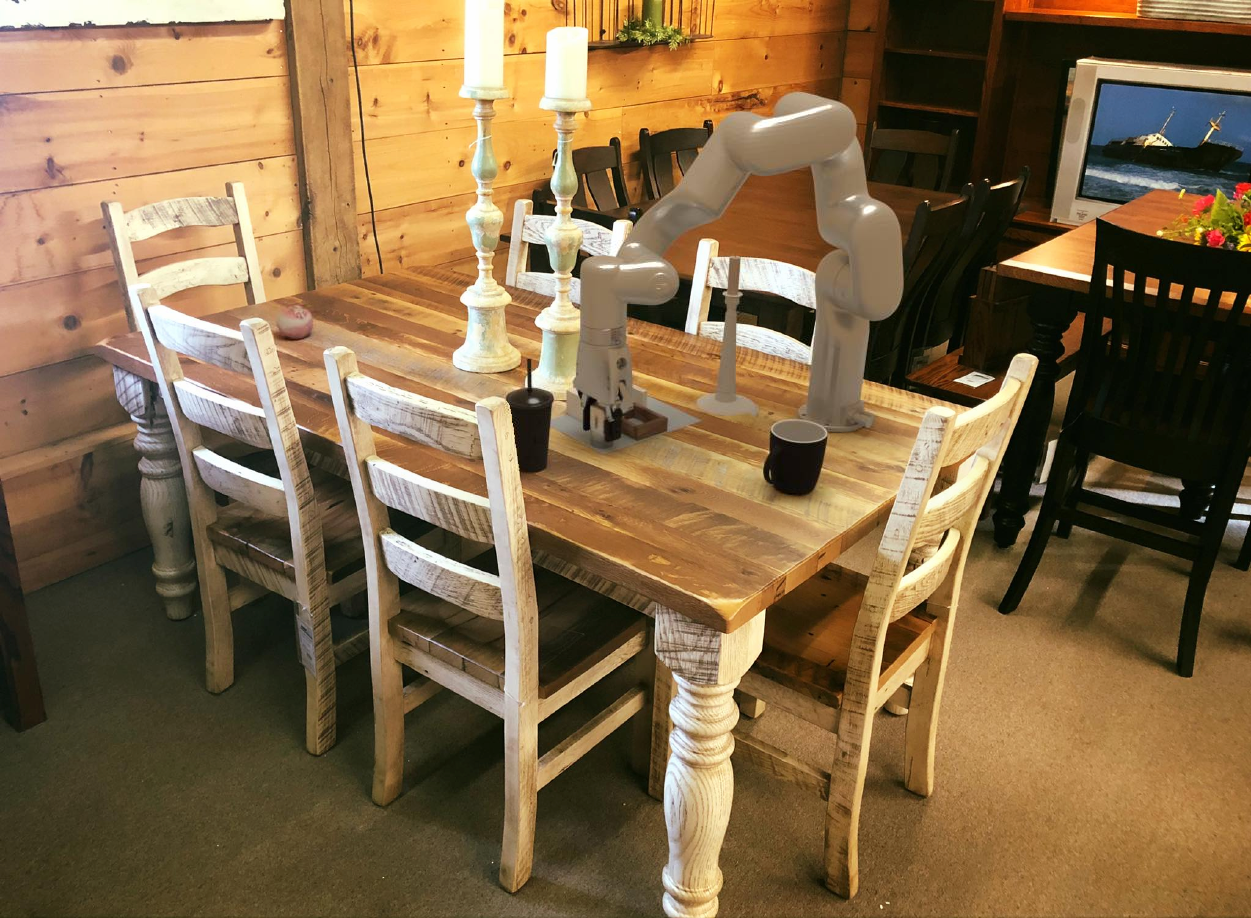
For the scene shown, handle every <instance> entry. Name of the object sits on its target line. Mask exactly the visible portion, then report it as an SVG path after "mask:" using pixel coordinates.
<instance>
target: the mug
mask: <svg viewBox="0 0 1251 918" xmlns="http://www.w3.org/2000/svg"><path fill="white" fill-rule="evenodd" d="M769 433H770V434H769V444H768V445H769V453H768V455H767V456H766V458H765V461H764V463H763V467H762V472H763V473H762V474H763V478H764V481H766V483H767V484H769V485H771V486H773V487H774V489H775V490H776V491H777V492H779V493H780V494H783V495H786V496H791V497H792V496H793V497H801V496H802V497H803V496H806V495H809V494H811V493H812V492H813V491H814V490H815V488H816V486H817V484H818V481H819V478H820V475H821V473H822V468H823V463H824V460H825V454H826V449H827V443H828V435H829V434H828V431H826V429H825V428H824V427H822V426H821V425H819V424H817V423H814V422H811V421H806V420H799V419H797V418H796V419H795V418H794V419H793V418H791V419H784V420H779V421H776V422H774V423H773V424H772V425H771V427H770V432H769Z"/></svg>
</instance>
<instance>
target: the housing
mask: <svg viewBox="0 0 1251 918" xmlns="http://www.w3.org/2000/svg"><path fill="white" fill-rule="evenodd" d="M572 386H573V387H571V388H568V389H566V391H565V392H566V393H565V394H566V395H565V396H566V401H565V402H566V405H565V407H566V408H565V409H566V414H570V415H572V416H574V417H575V418H577V419H579V420H581V421H583V409H584V408H582V407H581V399H580V397H579V395H578V391H577V390H576V388H575V387H574V385H573V384H572ZM647 396H648V390H647V389H644V388H642V387H640V386H638V385H635V384H633V393H632V399H631V401H632V403H633V402H635V403H637V404H639V405H642V406H644V407H646V408H647ZM615 400H616V399H615ZM597 402H600V401H599V400H598V401H597Z"/></svg>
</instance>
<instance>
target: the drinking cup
mask: <svg viewBox="0 0 1251 918" xmlns="http://www.w3.org/2000/svg"><path fill="white" fill-rule="evenodd" d="M526 367H527V368H526V375H527V376H526V378H527V381H526V382H527V383H526V384H527V387H520V388H519V389H515V390H511V391H509V392H508V393H507V394H506V396H505V402H506V401H507V402H508V403H509V405H510V409H511V414H512V423H513V427H514V435H515V444H516V448H517V456H518V464H519V468H520V471H519V472H522V473H527V474H535V473H539V472H542V471H544V470H546V469H547V466H548V454H549V444H550V443H549V442H550V434H551V433H550V431H551V426H550V422H551V419H552V410H553V409H552V408H553V403H554V401H555V396H554V394H553V393H552V392H550V391H548V390H545V389H542V388H538V387H534V386H533V381H532V380H533V377H532V359H531V358H527V359H526ZM507 402H506V403H507Z"/></svg>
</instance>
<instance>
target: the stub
mask: <svg viewBox="0 0 1251 918" xmlns="http://www.w3.org/2000/svg"><path fill="white" fill-rule="evenodd" d="M612 408H613V412H614V405H613V406H612ZM605 420H608V419H607V413H606V407H605V403H603V402H601V401H600V402H594V403H592V404H591V405H590V445H591V446H592V447H595V448H600V449H605V448H609V447H611V446H613V441H611V442H608V443H607V442H606V441H605Z"/></svg>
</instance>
